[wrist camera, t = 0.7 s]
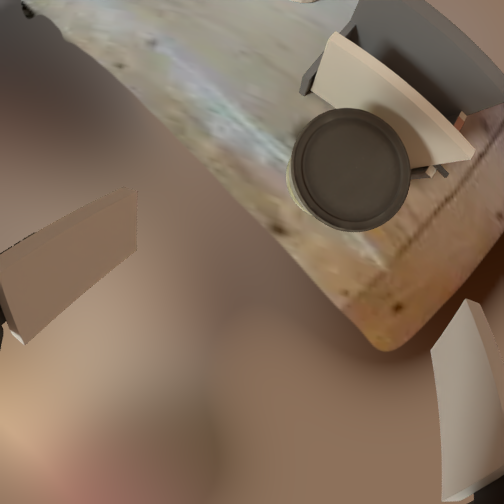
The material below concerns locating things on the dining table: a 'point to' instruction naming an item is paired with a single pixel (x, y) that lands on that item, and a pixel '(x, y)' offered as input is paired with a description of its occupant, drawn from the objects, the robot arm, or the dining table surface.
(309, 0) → the white cup
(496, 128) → the dining table surface
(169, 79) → the dining table surface
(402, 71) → the grey u-shaped holder
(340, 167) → the coffee can
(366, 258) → the dining table surface
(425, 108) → the curved beige panel
